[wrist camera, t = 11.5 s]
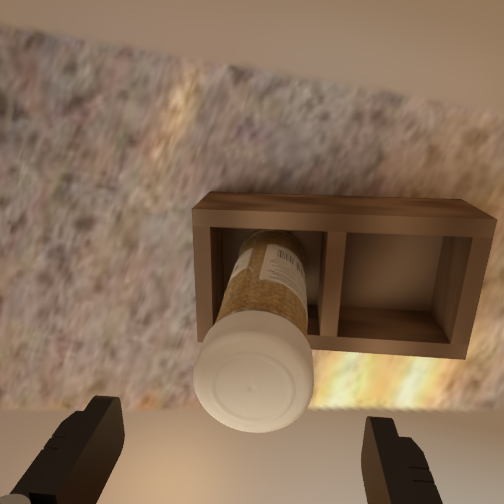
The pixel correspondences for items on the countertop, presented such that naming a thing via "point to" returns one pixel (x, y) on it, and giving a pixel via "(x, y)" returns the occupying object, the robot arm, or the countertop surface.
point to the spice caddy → (358, 266)
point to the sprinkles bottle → (259, 340)
